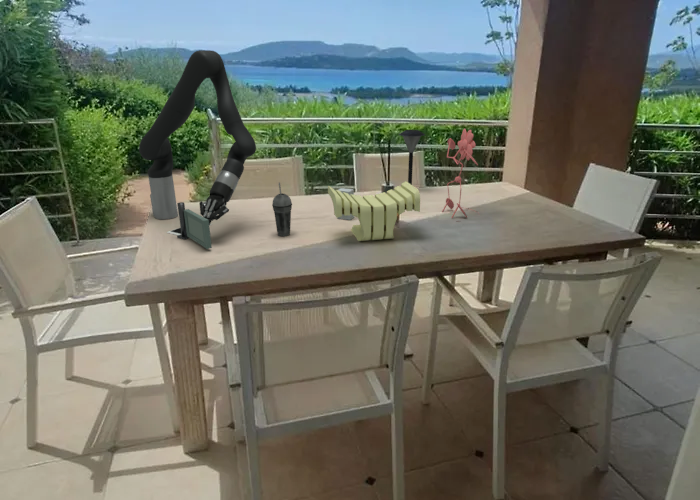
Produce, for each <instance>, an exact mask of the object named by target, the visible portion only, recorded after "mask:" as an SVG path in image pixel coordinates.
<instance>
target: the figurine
mask: <svg viewBox="0 0 700 500" xmlns="http://www.w3.org/2000/svg"><path fill="white" fill-rule="evenodd" d="M461 133H462V134H461V136H460V140H458V141H457V147H458V148H459V149H458V150H457V151H456V153H455V155H454V156H449V155H450V154H449V152H450V150H452V151H453V150H455V149H456V142H455V141H454V139H452V138H451V137H450V138H448V140H447V143H446V144H447V146H448V148H447V153H446V158H447V159H452V160H453V161H454V162H455V163H456V165H457V166H459V164H460V165H461V168H460V172H459V175H458V176H456V177H455V178H454V180H452V181H449V182H448V183H447V194H448V195H447V196H448V197H446V199H445V205H444V206H443V207H444V208H443V209H442V210H441V212H442V213H443V212H444V211H445V209H446V208H447V207H448V208H449V209H450V210H453V209H454V207H455V204H454V201H453V200H452V199H451V198H450V191H449V184H451V183H456V184H457V183H458V184H459V187H460V191H459V202H458V203H456V205H457V206H456V208H455V211H454V212H453V214H452V216H451V218H452V219H453V218H454V216H455V214H456V213H457V210H458V209H459V210H460V211H461V213H462V214H463V215H464V216H465V218H468V215H467V214H466V212H465V211H464V207H461V206H462V205H461V196H462V177H461V174H462V170H463V168H464V164H463V163H462V162H461V160H464V159H465V158H466V160H467V161H470V160H472V162H473V163H474V164H475V165H476V166H479V164H478V162H477V161H476V160H475V158H474V157H473V149H474V148H476V146H477V145H476V142H475V140H473V139H474V133H473V132H472V129H469V130H468V131H467V130H466V128H463V130H462V132H461ZM459 154H460V158H459V160H458V159H456V157H457V156H458V155H459ZM465 209H467V210H471V211H474V212H475V213H478V214H479V212H478V211H477V210H473V209H471V208H469V207H465ZM456 222H458V223H460V222H461V220H457V221H456Z"/></svg>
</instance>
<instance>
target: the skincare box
mask: <svg viewBox="0 0 700 500" xmlns="http://www.w3.org/2000/svg"><path fill="white" fill-rule="evenodd" d="M337 190H339V191H341V192H342V194H343V192H344V193H348V194H349V195H350V194H352V195H355V191H354V189H353V188H343V187H342V188H341V187H340V188H338V189H337ZM354 218H355V216H353V215H352V214H350V215H347V216H345V215H344V214H342V216H341V217H338V218H336V219H339V220H346V221H351V220H353V219H354Z"/></svg>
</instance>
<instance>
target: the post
mask: <svg viewBox="0 0 700 500" xmlns="http://www.w3.org/2000/svg"><path fill="white" fill-rule="evenodd" d="M176 204H177V212H178V219H179V225H180V226H179V228H180V227H181V235H178V236H177V235H176V238H177V239H181V240H184V241H185V240H188V239H190V238H189V237H187V232H186V224H185V217H184V210H186V207H185V206H186V205H185V202H182V201H180V202H176Z"/></svg>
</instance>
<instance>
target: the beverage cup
mask: <svg viewBox="0 0 700 500" xmlns="http://www.w3.org/2000/svg"><path fill="white" fill-rule="evenodd" d="M278 188H279V193H278V194H276V195H275V196H274V198H273V199H272V209H273V214H274V219H275V224H276V226H275V227H276V232H277V236H278V237H289V236H290V235H291V223H292V221H291V220H292V218H291V216H292V209H293V208H292V206H293V203H292V200H291V197H290V195H288V194H286V193H282V190H281V189H282V187H281V182H278Z"/></svg>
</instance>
